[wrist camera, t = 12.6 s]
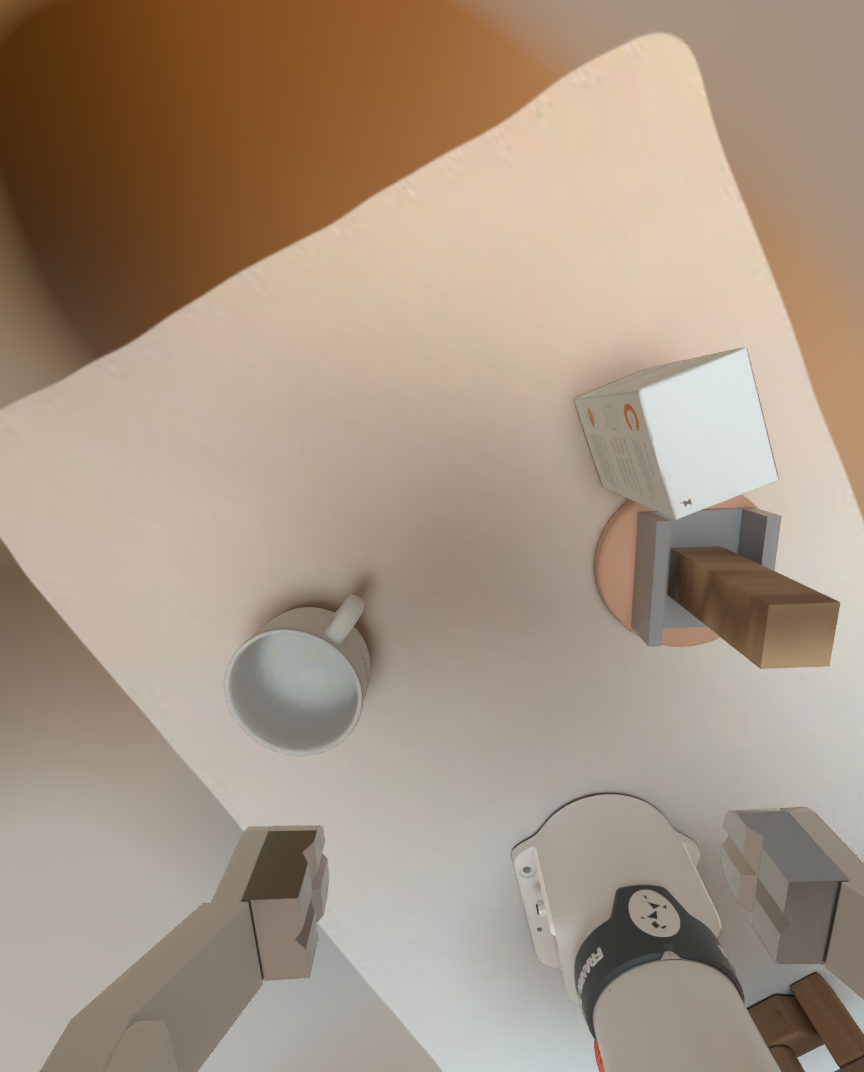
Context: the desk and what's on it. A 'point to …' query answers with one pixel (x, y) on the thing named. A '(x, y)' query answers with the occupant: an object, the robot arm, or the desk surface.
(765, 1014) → the brown wooden block assembly
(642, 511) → the round base with bracket
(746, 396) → the small box
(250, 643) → the teacup
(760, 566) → the wood grain beam
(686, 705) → the desk surface
